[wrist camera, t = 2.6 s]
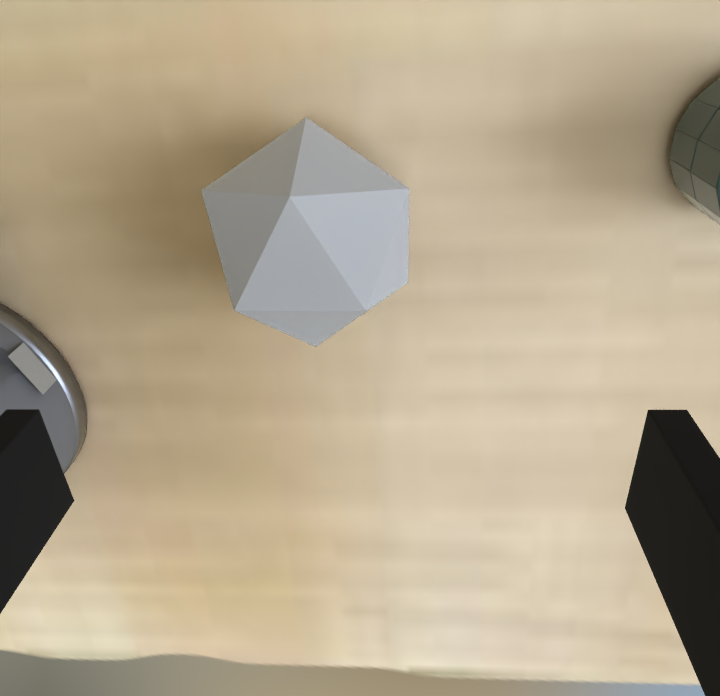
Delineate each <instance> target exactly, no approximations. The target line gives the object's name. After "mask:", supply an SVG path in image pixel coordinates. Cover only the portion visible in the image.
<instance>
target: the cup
mask: <svg viewBox="0 0 720 696" xmlns="http://www.w3.org/2000/svg"><path fill="white" fill-rule="evenodd" d="M669 161H670V165H671V170H672V175H673V179H674V184H675V185H676V187H677V188H678V189H679V190H680V192H681V193H682V194H683V195H684V196H685V197H686V199H687V200H688V201H689V202H690V203H691V204H692V205H694V206H695V207H696V208H698V209H699V210H700V211H702V212H703V213H704V214H706V215H707V216H708V217H710V218H711V219H712V220H714V221H715V222H716V223H718V224H719V225H720V77H719V78H718V79H717V80H715V81H714V82H713V83H712V84H711V85H710V86H709V87H707V88H706V89H705V90H704V91H703V92H702V93H700V94H699V95H698V96H697V97H696V98H695V100H693V101H692V102H691V104H690V106H689V107H688V109H687V110H686V111H685V113H684V114H683V116H682V118H681V120H680V122H679V124H678V125H677V127H676V130H675V134H674V139H673V143H672V148H671V153H670V158H669Z"/></svg>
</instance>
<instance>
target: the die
mask: <svg viewBox="0 0 720 696" xmlns="http://www.w3.org/2000/svg"><path fill="white" fill-rule="evenodd" d="M201 192H202V195H203V199H204V203H205V206H206V210H207V213H208V217H209V221H210V224H211V228H212V232H213V235H214V239H215V242H216V246H217V250H218V253H219V257H220V261H221V264H222V268H223V271H224V275H225V279H226V282H227V286H228V290H229V293H230V297H231V300H232V304H233V308H234V311H236V312H239V313H241V314H243V315H245V316H248V317H250V318H252V319H254V320H256V321H259V322H261V323H263V324H265V325H268V326H270V327H272V328H274V329H277V330H279V331H281V332H283V333H286V334H288V335H290V336H292V337H294V338H297V339H299V340H301V341H303V342H306V343H308V344H310V345H312V346H315V347H316V346H318V345H319V344H321V343H322V342H324V341H325V340H326V339H328V338H329V337H331V336H332V335H334V334H335V333H336V332H338V331H339V330H341V329H342V328H344V327H345V326H346V325H348V324H349V323H351V322H352V321H354V320H355V319H356V318H358V317H359V316H361V315H362V314H364V313H365V312H366V311H368V310H369V309H371V308H372V307H374V306H375V305H376V304H378V303H379V302H381V301H382V300H384V299H385V298H386V297H388V296H389V295H391V294H392V293H394V292H395V291H396V290H398V289H399V288H401V287H402V286H404V285H405V284H406V283H408V248H409V188H408V187H406V186H405V185H403V184H402V183H401V182H399V181H398V180H396V179H395V178H393V177H392V176H390V175H389V174H388V173H386V172H385V171H383V170H382V169H380V168H379V167H377V166H376V165H375V164H373V163H372V162H370V161H369V160H367V159H366V158H364V157H363V156H362V155H360V154H359V153H357V152H356V151H354V150H353V149H351V148H350V147H349V146H347V145H346V144H344V143H343V142H341V141H340V140H338V139H337V138H335V137H334V136H333V135H331V134H330V133H328V132H327V131H325V130H324V129H322V128H321V127H320V126H318V125H317V124H315V123H314V122H312V121H311V120H309V119H308V118H307V117H306V118H305V119H303V120H302V121H300V122H299V123H297V124H296V125H294V126H293V127H292V128H290V129H289V130H287V131H286V132H284V133H283V134H281V135H280V136H279V137H277V138H276V139H274V140H273V141H271V142H270V143H269V144H267V145H266V146H264V147H263V148H261V149H260V150H258V151H257V152H256V153H254V154H253V155H251V156H250V157H248V158H247V159H245V160H244V161H243V162H241V163H240V164H238V165H237V166H235V167H234V168H233V169H231V170H230V171H228V172H227V173H225V174H224V175H222V176H221V177H220V178H218V179H217V180H215V181H214V182H212V183H211V184H209V185H208V186H207V187H205V188H204V189H202V190H201Z"/></svg>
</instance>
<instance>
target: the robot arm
mask: <svg viewBox="0 0 720 696" xmlns="http://www.w3.org/2000/svg"><path fill="white" fill-rule="evenodd" d="M86 430H87V413H86V406H85V402H84V398H83V394H82V392H81V389H80V386H79V384H78V382H77V380H76V378H75V376H74V374H73V372H72V371H71V369H70V367H69V366H68V364H67V363H66V361H65V360H64V358H63V357H62V356H61V354H60V353H59V352H58V351H57V349H56V348H55V347H54V346H53V345H52V344H51V343H50V342H49V341H48V340H47V338H46V337H45V336H44V335H43V334H42V333H40V332H39V331H38V330H37V329H36V328H35V327H34V326H32V325H31V324H30V323H29V322H27V321H26V320H25V319H23V318H22V317H21V316H19V315H18V314H16V313H15V312H13V311H12V310H10V309H9V308H7V307H5V306H4V305H2V304H0V613H1V612H2V610H3V609H4V607H5V606H6V604H7V602H8V601H9V599H10V598H11V596H12V595H13V593H14V592H15V590H16V589H17V587H18V586H19V584H20V583H21V581H22V580H23V578H24V576H25V575H26V573H27V572H28V570H29V569H30V567H31V566H32V564H33V563H34V561H35V560H36V558H37V557H38V555H39V554H40V552H41V550H42V549H43V547H44V546H45V544H46V543H47V541H48V540H49V538H50V537H51V535H52V534H53V532H54V531H55V529H56V528H57V526H58V524H59V523H60V521H61V520H62V518H63V517H64V515H65V514H66V512H67V511H68V509H69V508H70V506H71V505H72V503H73V502H74V499H73V497H72V494H71V491H70V489H69V486H68V484H67V481H66V478H65V476H64V473H65V472H66V471H67V469H68V468H69V467H70V465H71V464H72V462H73V461H74V460H75V458H76V457H77V455H78V454H79V452H80V450H81V448H82V446H83V443H84V440H85V436H86ZM625 509H626V511H627V514H628V516H629V519H630V521H631V523H632V526H633V528H634V530H635V533H636V535H637V537H638V540H639V542H640V544H641V547H642V549H643V551H644V554H645V556H646V558H647V561H648V563H649V565H650V568H651V570H652V572H653V575H654V577H655V579H656V582H657V584H658V586H659V589H660V591H661V593H662V596H663V598H664V600H665V603H666V605H667V607H668V610H669V612H670V614H671V617H672V619H673V621H674V624H675V626H676V628H677V631H678V633H679V635H680V638H681V640H682V642H683V645H684V647H685V649H686V652H687V654H688V656H689V659H690V661H691V663H692V666H693V668H694V670H695V673H696V675H697V677H698V680H699V682H700V684H701V687H702V689H703V691H704V693H705V696H720V458H719V457H718V455H717V454H716V452H715V451H714V449H713V448H712V446H711V445H710V443H709V442H708V440H707V439H706V438H705V436H704V435H703V433H702V432H701V430H700V429H699V427H698V426H697V424H696V423H695V421H694V420H693V418H692V417H691V415H690V414H689V412H688V411H687V410H648V413H647V417H646V421H645V425H644V430H643V434H642V438H641V442H640V447H639V451H638V455H637V459H636V464H635V468H634V472H633V476H632V480H631V485H630V489H629V493H628V497H627V502H626V506H625Z"/></svg>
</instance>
